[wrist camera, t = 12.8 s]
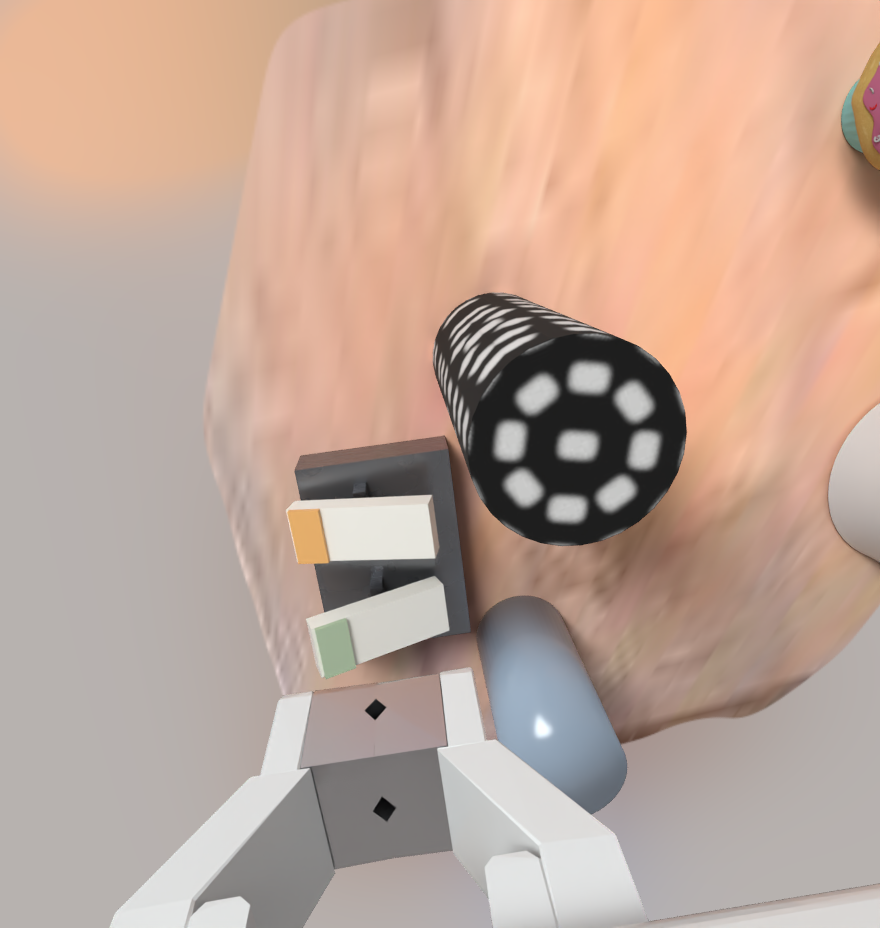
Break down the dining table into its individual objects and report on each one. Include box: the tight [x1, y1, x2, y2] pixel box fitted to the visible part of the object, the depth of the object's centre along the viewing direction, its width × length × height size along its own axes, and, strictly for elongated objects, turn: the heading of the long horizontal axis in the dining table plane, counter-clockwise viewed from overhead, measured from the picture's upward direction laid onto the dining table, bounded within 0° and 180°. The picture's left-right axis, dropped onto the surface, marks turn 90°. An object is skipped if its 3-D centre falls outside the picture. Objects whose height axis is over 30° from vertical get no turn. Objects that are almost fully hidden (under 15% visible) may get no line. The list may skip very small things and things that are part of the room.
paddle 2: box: [306, 576, 449, 679], centre depth 42 cm, size 9×4×2 cm, turn 97°
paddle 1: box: [286, 495, 439, 564], centre depth 40 cm, size 9×4×2 cm, turn 97°
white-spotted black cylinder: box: [433, 293, 687, 546], centre depth 33 cm, size 8×8×20 cm
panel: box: [295, 436, 471, 638], centre depth 44 cm, size 10×14×5 cm
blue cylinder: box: [476, 596, 627, 814], centre depth 43 cm, size 7×7×14 cm
